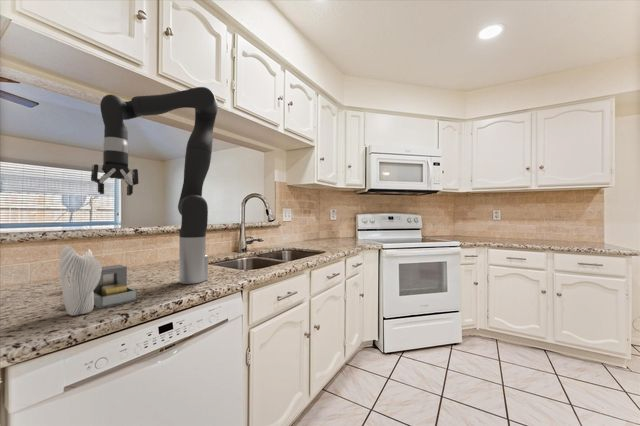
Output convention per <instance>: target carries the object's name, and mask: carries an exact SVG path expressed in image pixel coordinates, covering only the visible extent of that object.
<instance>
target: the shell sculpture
mask: <svg viewBox="0 0 640 426" xmlns="http://www.w3.org/2000/svg"><path fill="white" fill-rule="evenodd" d="M93 254H94V253H93V251H92V250H91V249H90V248H88V249H87V251H86V250H85V253H82V255H81V254H78V252H77V251H76V250H75V249H74V248H73V247H72V246H70V245H65V247H64V248H63V249H62V250H61V251H60V254H59V256H60V257H59V258H60V262H59V268H58V273H59V280H60V286H61V289H62V297H63V304H64V308H65V312H66V313H67V314H68V315H69V316H73V317H74V316H77V315H84V314H88V313H90V312H92V311H93V310H94V306H95V305H94V292H93V290H94V289H95V288H96V286H97V284H98V282H99V280H100V277H101V271H102V267H103V266H102V265H101V262H100V261H99V260H98V259H96V258H94V255H93ZM69 276H70V277H69Z"/></svg>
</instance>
